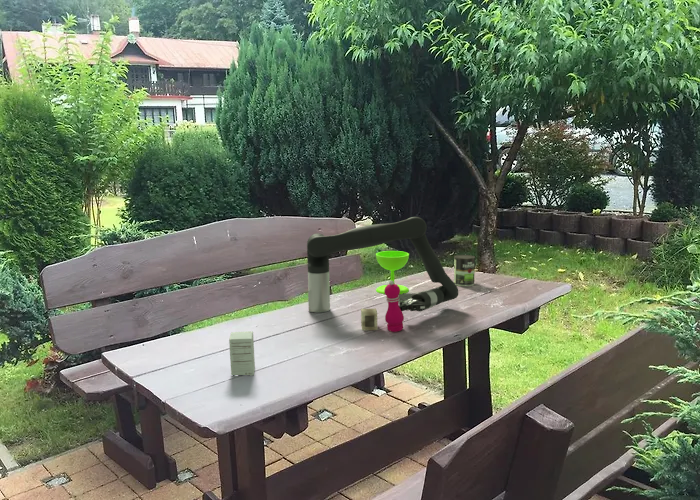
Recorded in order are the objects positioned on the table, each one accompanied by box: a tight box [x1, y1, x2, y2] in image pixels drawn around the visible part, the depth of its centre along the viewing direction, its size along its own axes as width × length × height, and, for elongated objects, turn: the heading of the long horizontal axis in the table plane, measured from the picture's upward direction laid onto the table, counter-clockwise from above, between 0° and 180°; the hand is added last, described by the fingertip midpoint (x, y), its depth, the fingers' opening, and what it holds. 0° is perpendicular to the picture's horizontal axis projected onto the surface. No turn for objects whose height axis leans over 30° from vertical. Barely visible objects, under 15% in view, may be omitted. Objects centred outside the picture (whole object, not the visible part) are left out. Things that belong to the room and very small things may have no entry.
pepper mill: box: [384, 281, 405, 333], centre depth 238 cm, size 7×7×20 cm
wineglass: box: [375, 250, 410, 295], centre depth 297 cm, size 16×16×18 cm
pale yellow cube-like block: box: [360, 308, 378, 331], centre depth 243 cm, size 6×6×7 cm
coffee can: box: [453, 254, 476, 287], centre depth 308 cm, size 10×10×14 cm
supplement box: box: [228, 330, 256, 376], centre depth 200 cm, size 7×7×13 cm
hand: (398, 309), depth 241 cm, fingers closed
